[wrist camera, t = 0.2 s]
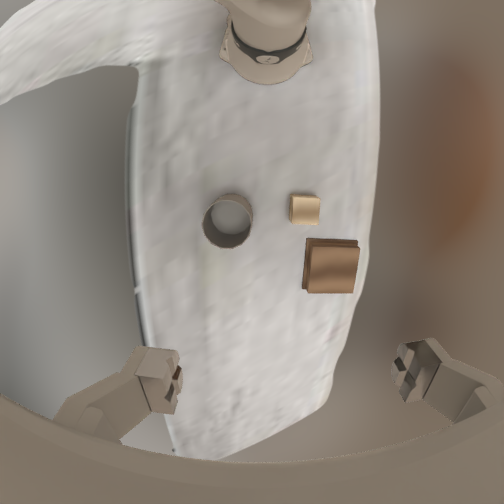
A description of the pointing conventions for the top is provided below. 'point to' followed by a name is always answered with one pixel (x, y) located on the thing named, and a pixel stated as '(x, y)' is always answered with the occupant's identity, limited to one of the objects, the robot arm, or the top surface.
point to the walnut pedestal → (330, 265)
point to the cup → (228, 221)
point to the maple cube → (304, 209)
